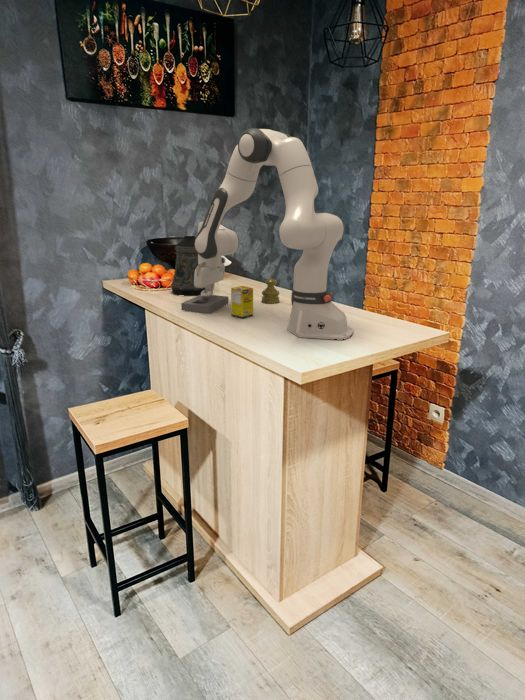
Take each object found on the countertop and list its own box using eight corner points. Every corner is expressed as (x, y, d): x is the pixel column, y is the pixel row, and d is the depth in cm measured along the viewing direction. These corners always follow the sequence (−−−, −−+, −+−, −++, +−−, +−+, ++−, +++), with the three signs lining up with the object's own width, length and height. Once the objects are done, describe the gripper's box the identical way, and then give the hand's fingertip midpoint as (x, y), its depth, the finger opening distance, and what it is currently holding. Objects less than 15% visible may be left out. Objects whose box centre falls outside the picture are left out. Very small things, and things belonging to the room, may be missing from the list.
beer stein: (164, 294, 220) (161, 237, 212) (186, 286, 237) (184, 233, 229) (196, 297, 214) (195, 239, 206) (217, 289, 231) (216, 235, 223)
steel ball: (210, 288, 196) (206, 295, 194) (213, 294, 199) (210, 302, 197) (201, 287, 198) (197, 294, 196) (204, 293, 201) (201, 301, 199)
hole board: (228, 303, 205) (228, 296, 204) (209, 313, 189) (208, 306, 188) (202, 300, 209) (202, 293, 208) (181, 310, 193) (181, 303, 192)
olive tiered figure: (281, 303, 207) (282, 279, 203) (265, 304, 204) (265, 280, 201) (275, 299, 213) (275, 276, 210) (259, 300, 211) (259, 277, 207)
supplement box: (253, 316, 186) (253, 287, 183) (242, 319, 182) (242, 290, 179) (242, 313, 190) (242, 285, 187) (231, 316, 186) (230, 287, 182)
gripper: (204, 265, 186) (204, 301, 191) (227, 258, 204) (227, 290, 209) (189, 264, 188) (190, 299, 193) (213, 256, 206) (213, 289, 211)
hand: (209, 294), depth 201 cm, fingers closed
